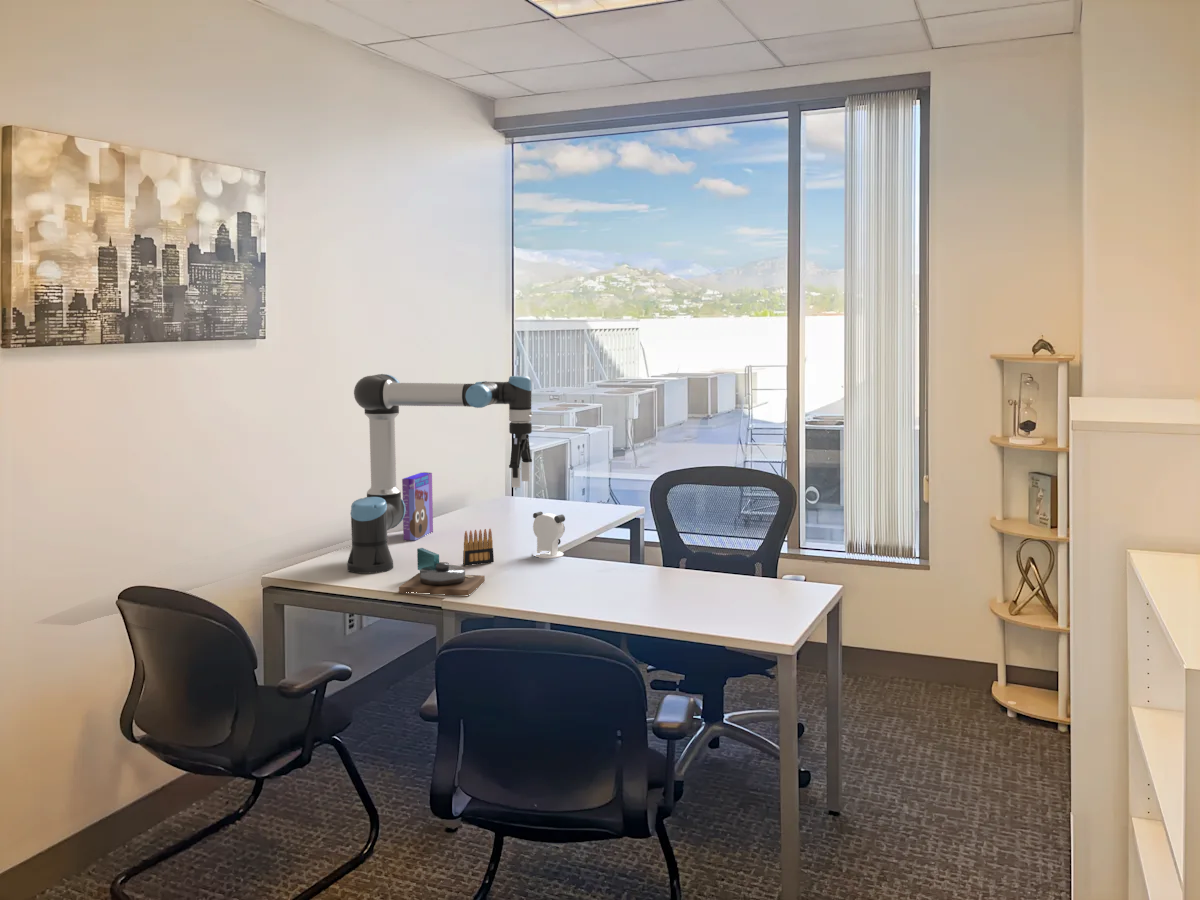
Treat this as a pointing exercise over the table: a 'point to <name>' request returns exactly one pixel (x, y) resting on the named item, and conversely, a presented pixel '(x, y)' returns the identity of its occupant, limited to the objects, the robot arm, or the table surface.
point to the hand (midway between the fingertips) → (520, 484)
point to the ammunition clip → (478, 548)
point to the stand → (443, 586)
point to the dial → (437, 569)
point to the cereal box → (417, 506)
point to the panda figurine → (548, 533)
